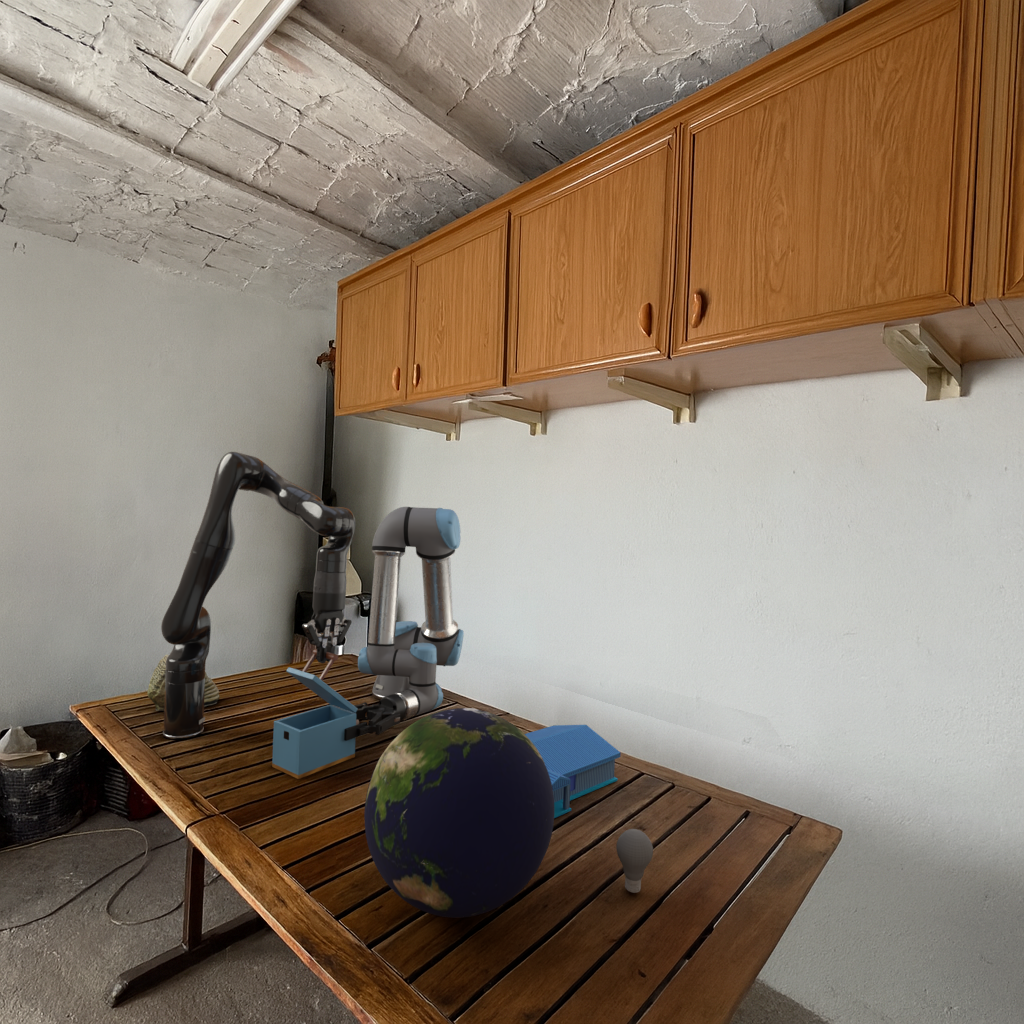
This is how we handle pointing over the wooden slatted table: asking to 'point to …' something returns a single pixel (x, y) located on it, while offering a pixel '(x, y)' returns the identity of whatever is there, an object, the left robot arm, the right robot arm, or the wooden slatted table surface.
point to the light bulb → (634, 857)
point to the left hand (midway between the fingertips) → (325, 661)
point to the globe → (459, 812)
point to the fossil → (158, 687)
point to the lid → (321, 683)
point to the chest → (312, 741)
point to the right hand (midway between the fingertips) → (331, 729)
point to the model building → (574, 761)
